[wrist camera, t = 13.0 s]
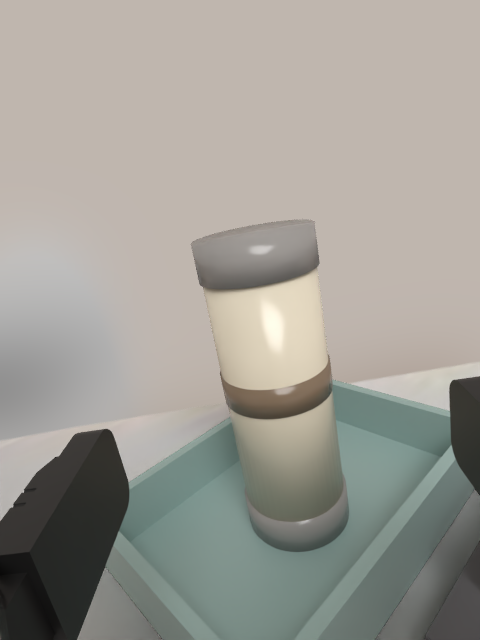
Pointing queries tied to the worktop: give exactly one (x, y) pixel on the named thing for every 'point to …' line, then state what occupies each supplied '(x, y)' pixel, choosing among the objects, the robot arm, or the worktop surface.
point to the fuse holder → (460, 606)
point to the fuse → (277, 378)
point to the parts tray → (282, 566)
